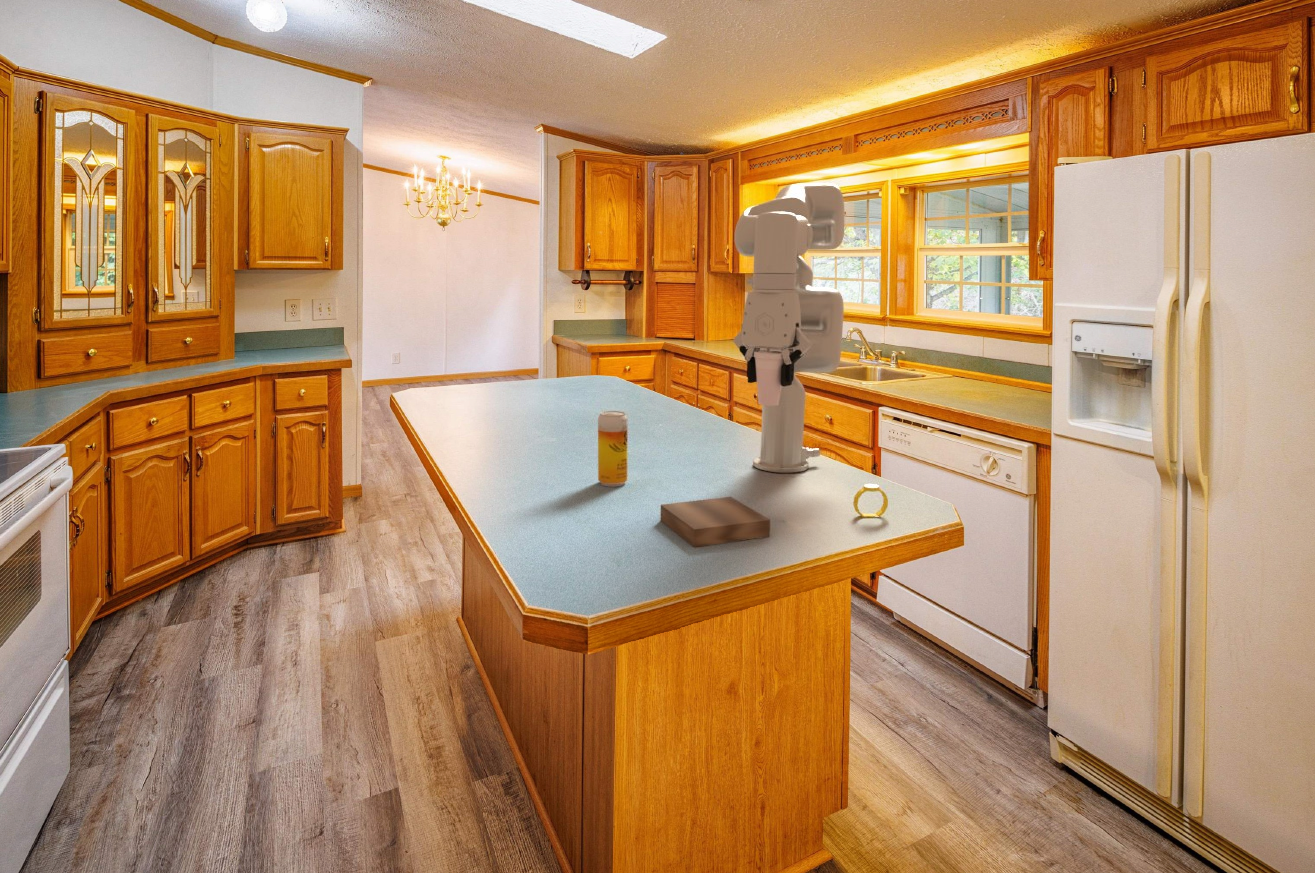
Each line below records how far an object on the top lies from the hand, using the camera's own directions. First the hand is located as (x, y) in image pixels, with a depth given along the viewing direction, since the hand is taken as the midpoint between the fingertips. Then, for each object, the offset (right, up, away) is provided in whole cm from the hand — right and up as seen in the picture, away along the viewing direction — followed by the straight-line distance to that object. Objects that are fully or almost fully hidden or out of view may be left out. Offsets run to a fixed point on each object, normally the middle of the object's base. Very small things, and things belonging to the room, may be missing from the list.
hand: (769, 383), depth 134 cm
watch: (+18, -25, -1) cm, 31 cm away
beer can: (-30, -20, +19) cm, 41 cm away
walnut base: (-11, -26, -8) cm, 29 cm away
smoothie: (0, -4, +1) cm, 4 cm away
